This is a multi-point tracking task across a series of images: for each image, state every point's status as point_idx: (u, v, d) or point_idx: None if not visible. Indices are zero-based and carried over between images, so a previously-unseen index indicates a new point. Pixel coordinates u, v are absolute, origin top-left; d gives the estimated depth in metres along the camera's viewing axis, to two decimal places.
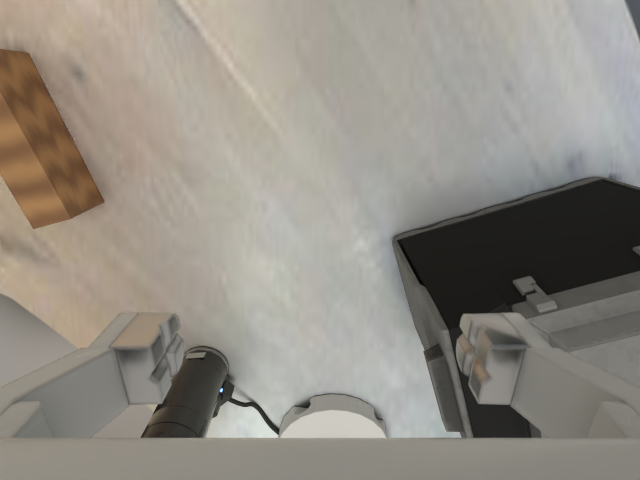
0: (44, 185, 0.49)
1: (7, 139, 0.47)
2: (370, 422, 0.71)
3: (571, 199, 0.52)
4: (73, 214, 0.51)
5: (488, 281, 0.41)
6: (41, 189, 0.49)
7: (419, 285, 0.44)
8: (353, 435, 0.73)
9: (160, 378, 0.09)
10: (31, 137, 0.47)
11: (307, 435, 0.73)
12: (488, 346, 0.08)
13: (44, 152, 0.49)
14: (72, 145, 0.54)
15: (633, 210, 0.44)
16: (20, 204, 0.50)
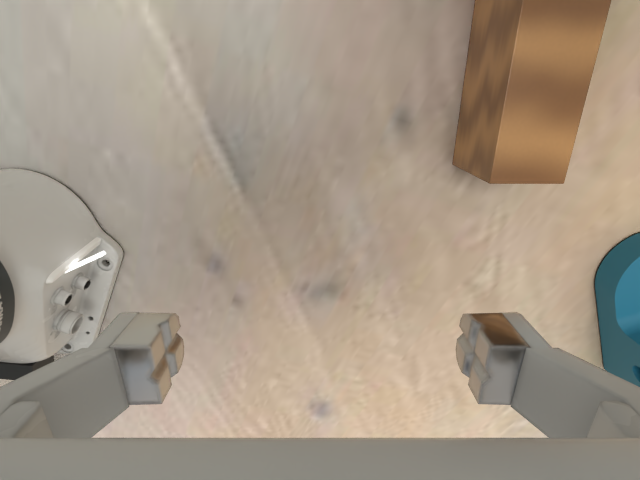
0: None
1: (551, 31, 0.25)
2: None
3: None
4: None
5: None
6: None
7: None
8: None
9: (160, 378, 0.09)
10: (511, 25, 0.25)
11: None
12: (488, 346, 0.08)
13: None
14: (476, 13, 0.31)
15: None
16: None
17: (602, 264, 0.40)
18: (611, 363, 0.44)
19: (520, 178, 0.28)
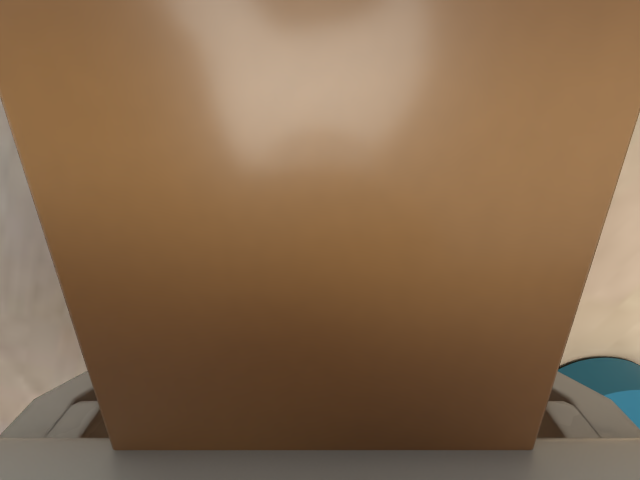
0: None
1: (255, 43, 0.03)
2: None
3: None
4: None
5: None
6: None
7: None
8: None
9: None
10: None
11: None
12: None
13: None
14: None
15: None
16: None
17: None
18: None
19: None
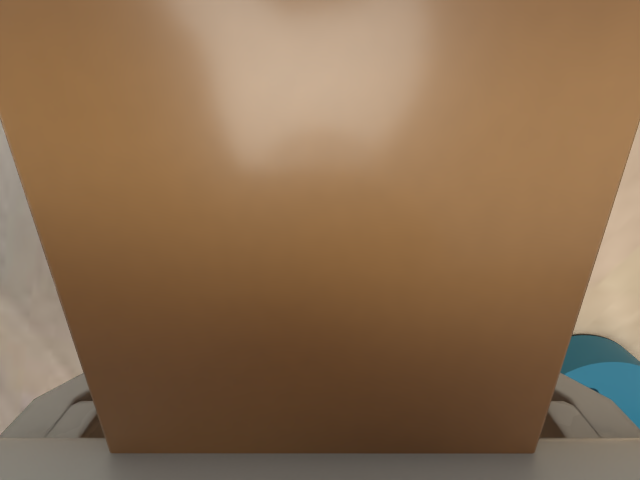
0: None
1: (251, 39, 0.03)
2: None
3: None
4: None
5: None
6: None
7: None
8: None
9: None
10: None
11: None
12: None
13: None
14: None
15: None
16: None
17: None
18: None
19: None
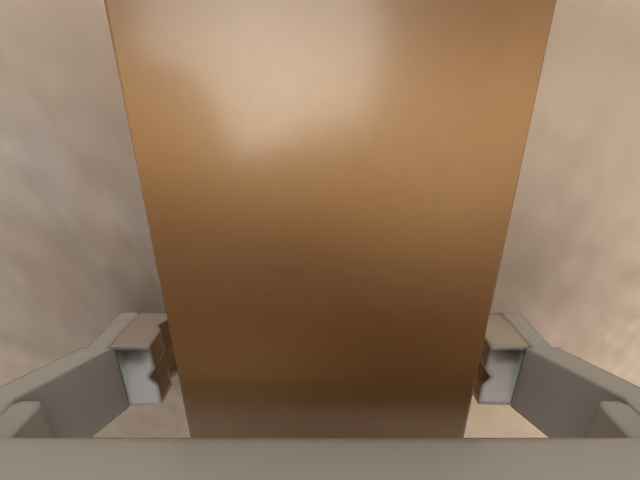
0: None
1: (285, 63, 0.05)
2: None
3: None
4: None
5: None
6: None
7: None
8: None
9: (160, 378, 0.09)
10: None
11: None
12: (488, 346, 0.08)
13: None
14: None
15: None
16: None
17: None
18: None
19: None
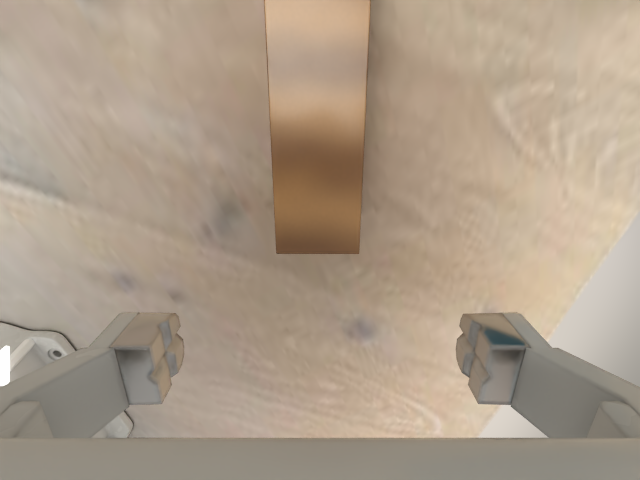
0: None
1: (307, 94, 0.22)
2: None
3: None
4: None
5: None
6: None
7: None
8: None
9: (160, 378, 0.09)
10: None
11: None
12: (488, 346, 0.08)
13: None
14: None
15: None
16: None
17: None
18: None
19: (309, 248, 0.26)
